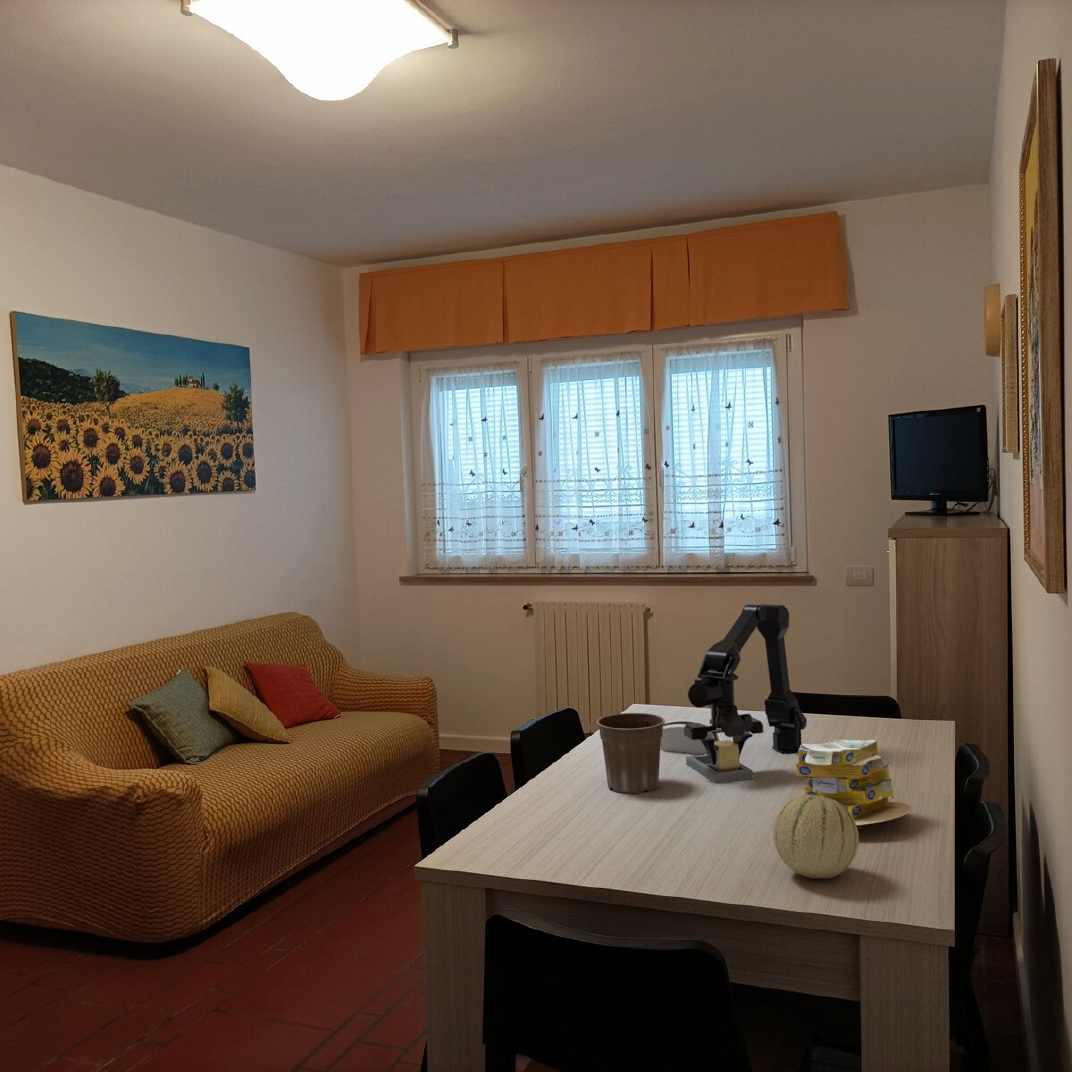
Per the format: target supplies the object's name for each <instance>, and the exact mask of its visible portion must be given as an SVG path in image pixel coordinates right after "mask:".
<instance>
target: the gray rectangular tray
mask: <svg viewBox="0 0 1072 1072" xmlns="http://www.w3.org/2000/svg"><path fill="white" fill-rule="evenodd" d="M685 759H686V760H685V763H686V765H687V766H688V765H689V766H688V767H690V768H691V769H692V770H694V771H695V772H697V771H698V772H697V773H698V774H701V775H702V776H703V777H704V778H706V779H708V780H709V779H710V780H709V781H711V782H713V783H714V784H716V783H724V781H726V782H733V781H732V780H735V781H740V780H739V779H744V780H751V779H754V774H753V769H751V768H750V767H748V766H746V765H744V764H743V763H741V762H739V763H740V768H739V770H734V771H725V772H717V771H716V770H714V769H713V768H712V767H711V760H710V758H709V756H708V754H706V755H703V754H696V755H690V756H689V755H688V756H686V757H685ZM707 763H710V764H707Z"/></svg>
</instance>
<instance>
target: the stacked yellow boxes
mask: <svg viewBox="0 0 1072 1072" xmlns="http://www.w3.org/2000/svg"><path fill="white" fill-rule="evenodd" d="M797 755H798V762H796V763H795V767H796V775H797V777H801V778H804V779H805V781H806V782H805V783H806V786H807V787H805V788H804V795H817V793H815V790H816V789H818V790H820V791H821V792H822V794H823V795H824V796H825V797H827V798H830V799H833V800H835V801H837V802H839V803H840V804H842V805H843V806H844V807H845V808H846V809H847V810H848V811H849V812H850V813H851V815H852V817H853V819H854V821H855V823H856V826H858V829H859V830H862V826H863V825H869V824H875V823H882V822H886V821H891V820H894V819H898V818H900V817H903V816H905V815H907V814H909V813H910V812H911V810H912V808H911V807H912V806H910V805H909V804H908V803H907V804H906V803H905V802H901V801H897V800H896V801H895V800H889V797H891V798H892V799H894V798H895V797H894V796H893V795H894V790H893V789H894V788H893V783H892V778H891V775H890V771H889V764H890V761H888V760H889V759H886V758H883V756H880V755H879V754H878V741H877V740H875V739H869V740H866V739H863V738H862V739H848V738H844V739H843V738H842V739H834V740H833V739H830V741H829V740H826V741H825V742H822V743H801V745H800V748H799V750H798V752H797ZM885 760H887V761H888V762H887V763H885V764H884V761H885Z"/></svg>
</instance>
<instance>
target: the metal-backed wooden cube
mask: <svg viewBox="0 0 1072 1072" xmlns="http://www.w3.org/2000/svg"><path fill="white" fill-rule="evenodd" d="M714 751H715V765H713V764H712V763H710V764H711V767H712V768H713V769H714V770H716V771H717V772H725V771H734V770H739V768H740V763H741V762H740V758H739V748H738V744H736V743H734V742H733V740H730V739H727V740H720V741H716V742H714Z"/></svg>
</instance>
